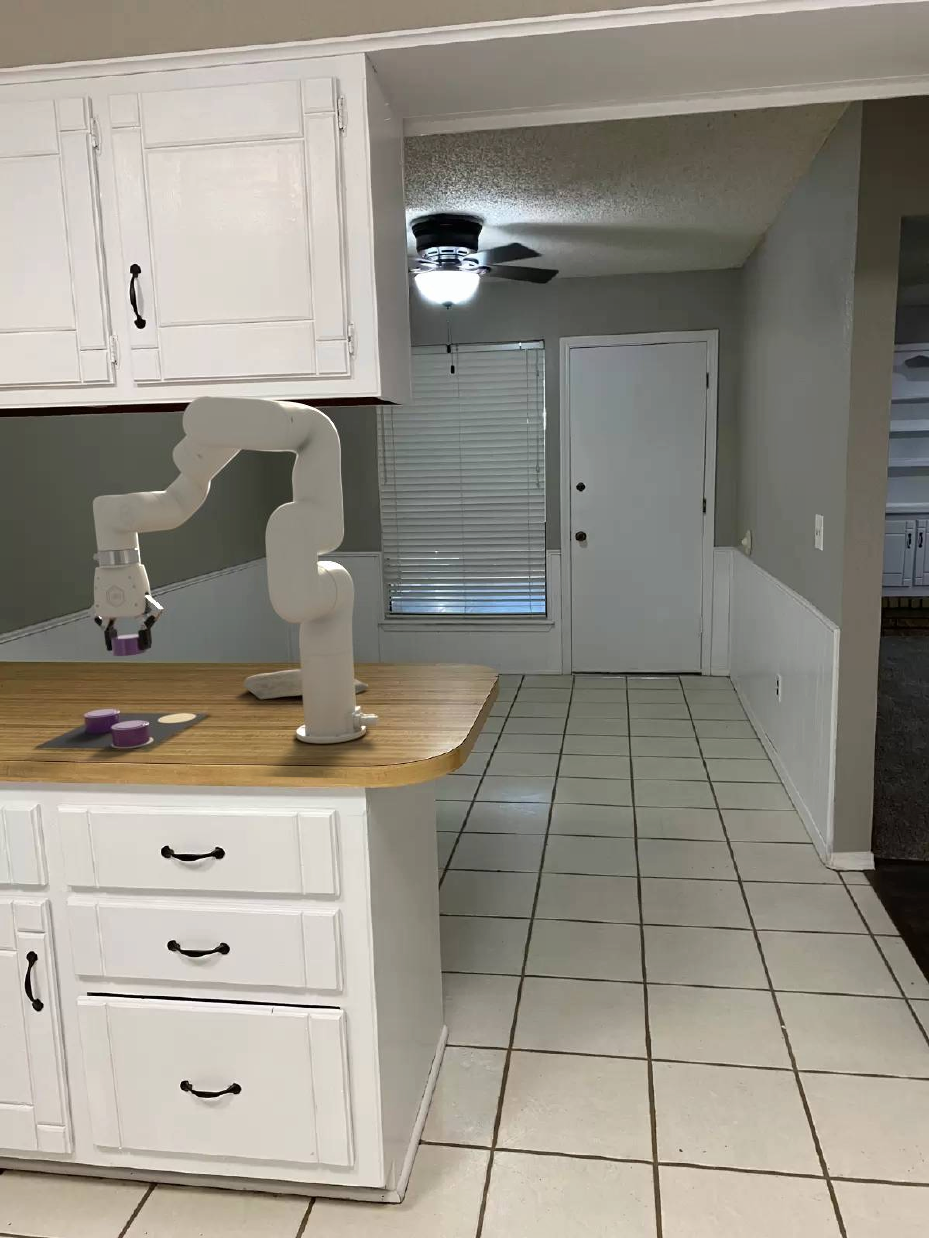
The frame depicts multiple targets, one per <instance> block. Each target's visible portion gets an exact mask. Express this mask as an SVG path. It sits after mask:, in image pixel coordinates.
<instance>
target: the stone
mask: <svg viewBox="0 0 929 1238" xmlns="http://www.w3.org/2000/svg"><path fill="white" fill-rule="evenodd" d="M354 680H355V694H359V693H361V692H363V691H365V690H366V689H368V688H369V685H368V683H365V682H362V681H359V680H357V679H356V678H354ZM242 687H243V688H245V689H246V690H248V691H249V692H250V693H252V694H253V695H254V696H256V698H257V699H259V700H266V699H275V698H282V697H295V696H303V695H302V680H301V668H298V669H287V670H281V671H274V672H265V673H258V674H255V675H251V676H248V677H246V678H245V679H244V681H243V685H242Z"/></svg>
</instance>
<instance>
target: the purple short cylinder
mask: <svg viewBox="0 0 929 1238" xmlns="http://www.w3.org/2000/svg"><path fill="white" fill-rule="evenodd" d="M111 732H112V742H113V745H114V746H116V747H132V746H138V745H142V744H145V743H147V742H149V741H150V732H149V723H148V722H147V721H142V720H135V721H126V722H121V723H118V724H115V725H113V726H112V727H111Z"/></svg>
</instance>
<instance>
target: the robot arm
mask: <svg viewBox="0 0 929 1238" xmlns="http://www.w3.org/2000/svg"><path fill="white" fill-rule="evenodd" d="M182 429H183V431H184V434H185V436H184V437H183V439H181V440H180V442H178V443H177V444H176V445H175V447H174V448H173V450H172V460H173V462H174V464H175V466H176V468H177V469H178V470H179V472H180V474H179V475H178V477H176V478H175V480H174V481H173V482H172V483H171V484H170V485H168V487H167V488H165V490H163V491H158V490H157V491H142V492H131V493H126V494H110V495H108V494H107V495H99V496H97V497H95V498H94V499H93V501H92V512H93V520H94V521H93V522H94V529H95V539H96V547H97V553H94V554H93V557H92V558H93V561H94V562H98V566H97V567H95V571H94V576H93V577H94V578H93V579H94V580H93V601H94V602H93V604H92V605H91V606H90V608H88V610H87V611H86V612H87V615H88V616H89V617H90V618H91V619H92V620H94V623H95V624H96V625H97V626H98V627H99V628H100V630H101V631H102V632H103V634H104V635H103V636H104V644H105V646H106V651H107V652H112V646H111V638H113V637H117V636H119V635H118V630H117V628H115V625H116V621H117V619H123V618H124V619H125V618H128V619H129V618H134V619H135V620H136V622H137V624H138V627H139V628H140V629H139V630H138V631H137V634H138V636H139V645H140V650H146V649H147V650H149V649H151V648H152V643H153V637H152V628H153V627H154V624H155V623H156V622H157V621H158V620H159V618H160V616H161V615H162V614H163V612H164V608H163V607H162V606H161V605H160V604H159V603H158V602H156V600H154V599H153V597H152V591H151V587H150V582H149V578H148V574H147V571H146V567H145V565H144V564H142V563H141V556H140V555H141V554H140V545H139V536H138V533H139V534H141V533H151V532H158V531H169V530H173V529H176V528H178V527H180V526H181V525H183V524H184V523H186V521H188V520H189V519H190V518H191V517H192V516H193V515H194V514H195V513H196V512H197V511H198V510H199V509H200V508H201V507H202V505H203V504H204V503H205V501H206V499H207V497H208V494H209V492H210V489H211V481H212V479H214V478H215V477H216V475H217V474H219V472H220V471H221V470H222V469H223V468H224V467H226V465H227V464H228V463H229V462H230V461H232V460H233V458H234V457H236V456H237V454H238V453H239V452H241V450H246V451H260V452H292V453H294V454H295V455H296V458H295V462H294V465H293V469H292V474H291V475H292V477H291V480H292V481H291V484H292V501H291V502H286V503H283V504H282V505H280V506H278V507H277V508H276V509H275V510H274V511H273V512H272V513H271V515H270V516H269V518H268V522H267V525H266V527H265V528H266V529H265V554H266V555H265V556H266V571H267V587H268V596H269V600H270V603H271V606H272V608H273V610H274V612H275V613H276V614H277V616H279V617H280V618H281V619H282V620H283V621H285V622H288V623H291V624H300V626H299V632H298V634H299V635H298V647H299V665H300V669H301V680H302V695H301V696H302V707H303V721H304V725H301V726H300V727H298V728H297V729H296V732H295V733H296V734H295V735H296V739H297V740H299V741H301V742H304V743H309V744H321V745H322V744H336V743H337V744H338V743H344V742H349V741H353V740H356V739H358V738H360V737H363V736H364V735H365V734H366V732H367V727H368V728H378V727H379V724H380V717H379V716H378V715H376V714H375V713H368V714H365V713H363V712H362V706H357V699H356V697H357V696H356V693H355V680H354V679H355V665H354V644H353V643H354V642H353V613H354V604H355V603H354V601H355V586H354V582H353V578H352V577H351V575H350V573H349V571H348V570H346V568H344V567H343V565H340V564H338V563H336V562H333V561H327V560H325V561H324V560H323V561H319V556H322V555H325V554H329V553H332V552H334V551H335V550H337V549H338V548H340V546H341V544H342V543H343V540H344V536H345V525H344V523H345V522H344V504H343V502H344V501H343V486H342V469H341V465H342V464H341V461H342V460H341V459H342V458H341V456H342V455H341V454H342V453H341V450H342V449H341V442H340V437H339V433H338V430H337V428H336V426H335V424H334V423H333V422H332V420H331V419H330V418H329V417H328V416H327V415H326V414H324V412H321V411H320V410H319V409H317V408H314V407H312V406H309V405H306V404H303V403H298V402H292V401H284V400H273V399H264V398H243V397H241V398H240V397H222V396H221V397H220V396H213V395H203V396H199V397H197V398H195V399H194V400H192V401H191V402H190V403H189V404H188V405H187V407H186V408H185V409H184V412H183V416H182ZM149 614H150V615H149Z"/></svg>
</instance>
